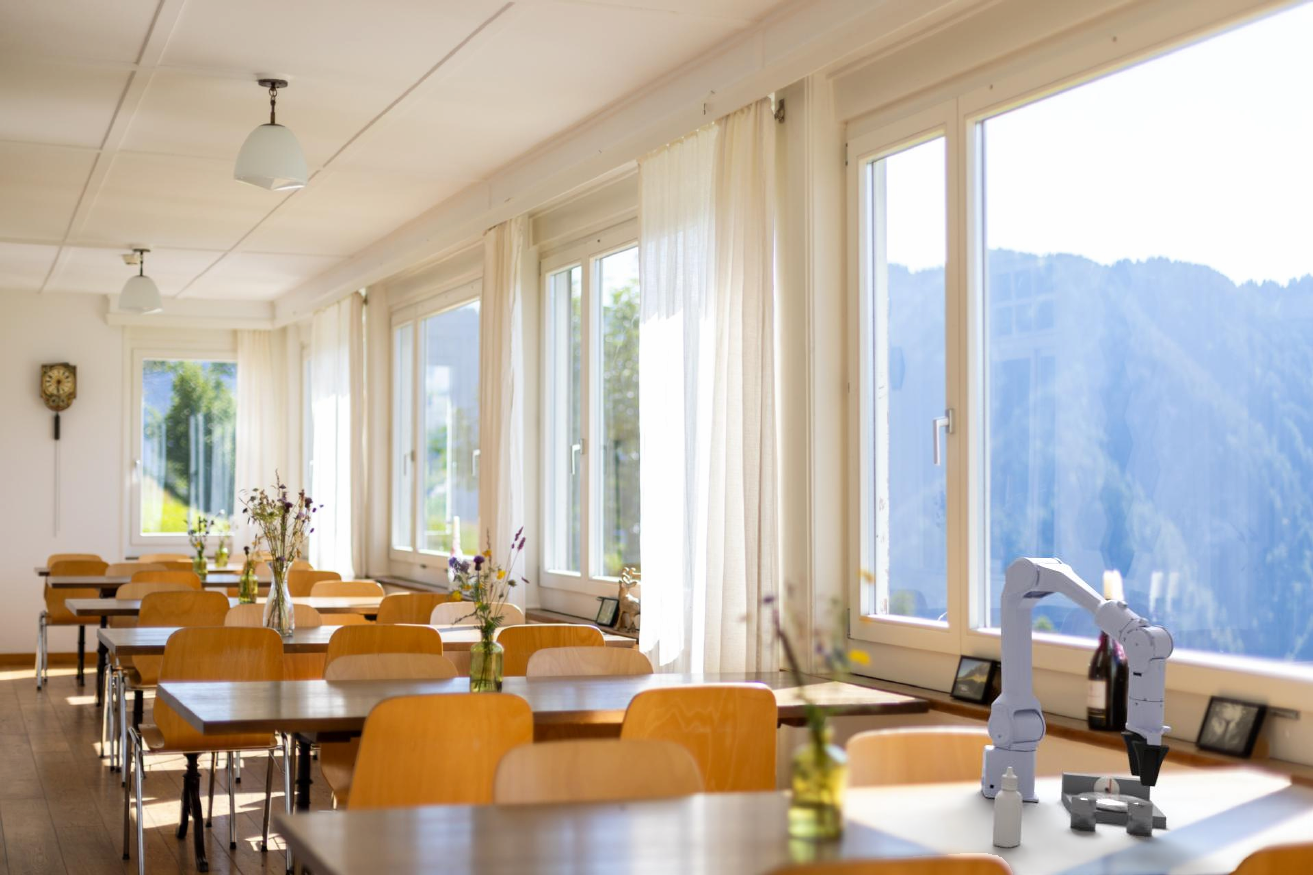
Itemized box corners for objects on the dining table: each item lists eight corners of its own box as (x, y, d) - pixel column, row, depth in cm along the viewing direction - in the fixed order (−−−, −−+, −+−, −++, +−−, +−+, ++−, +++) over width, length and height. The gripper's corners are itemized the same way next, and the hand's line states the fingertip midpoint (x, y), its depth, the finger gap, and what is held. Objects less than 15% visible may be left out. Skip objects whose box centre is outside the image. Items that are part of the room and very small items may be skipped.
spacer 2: (1128, 835, 215) (1130, 804, 216) (1124, 829, 219) (1125, 799, 220) (1154, 837, 215) (1155, 806, 215) (1148, 831, 219) (1150, 801, 219)
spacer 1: (1072, 830, 217) (1073, 799, 217) (1068, 824, 221) (1069, 794, 221) (1097, 832, 216) (1098, 802, 216) (1093, 826, 220) (1094, 796, 220)
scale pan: (1084, 808, 224) (1084, 804, 224) (1072, 792, 236) (1072, 789, 236) (1157, 814, 222) (1157, 811, 222) (1142, 798, 234) (1142, 795, 234)
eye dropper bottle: (983, 840, 207) (986, 764, 207) (1013, 839, 209) (1017, 763, 209) (999, 848, 203) (1002, 770, 203) (1030, 847, 205) (1033, 770, 205)
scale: (1074, 819, 224) (1075, 789, 224) (1061, 799, 239) (1062, 770, 239) (1166, 827, 222) (1167, 796, 222) (1146, 806, 237) (1148, 777, 237)
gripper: (1182, 707, 211) (1178, 792, 210) (1161, 694, 225) (1157, 773, 225) (1136, 704, 212) (1133, 788, 212) (1118, 691, 226) (1115, 769, 226)
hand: (1142, 780), depth 218 cm, fingers open, 7 cm apart
